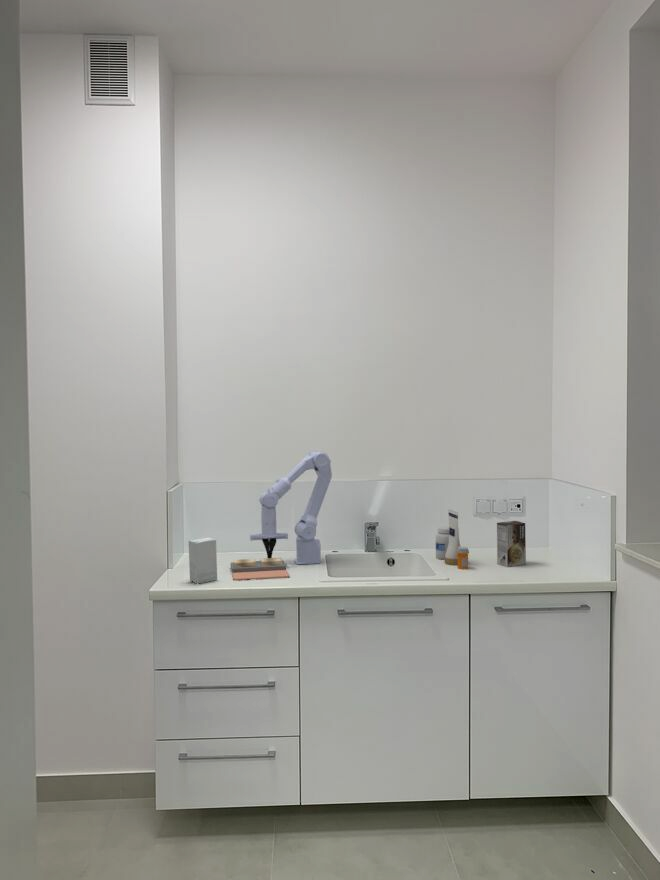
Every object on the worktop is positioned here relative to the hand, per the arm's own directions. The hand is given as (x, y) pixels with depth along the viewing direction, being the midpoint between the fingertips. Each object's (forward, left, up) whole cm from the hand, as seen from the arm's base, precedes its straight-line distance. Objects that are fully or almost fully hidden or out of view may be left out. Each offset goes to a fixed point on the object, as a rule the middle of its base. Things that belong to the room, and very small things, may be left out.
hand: (269, 558), depth 272 cm
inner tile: (0, +7, -1) cm, 7 cm away
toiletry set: (-70, +12, -3) cm, 71 cm away
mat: (+5, +17, -3) cm, 18 cm away
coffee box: (-91, +21, -3) cm, 93 cm away
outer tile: (+10, +7, -1) cm, 12 cm away
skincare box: (+25, +20, -3) cm, 32 cm away
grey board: (+5, +6, -3) cm, 9 cm away
